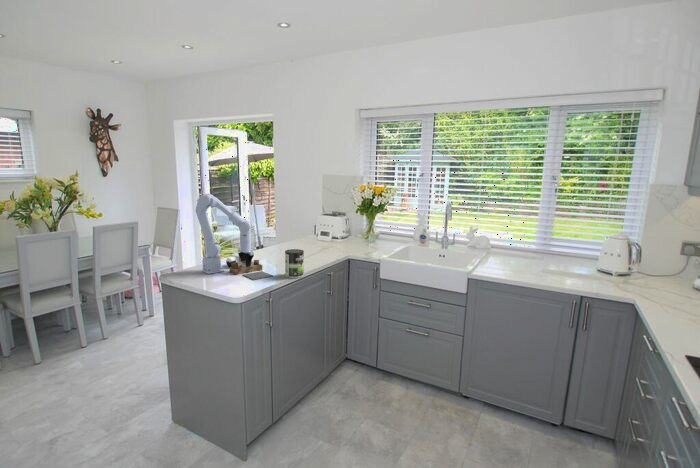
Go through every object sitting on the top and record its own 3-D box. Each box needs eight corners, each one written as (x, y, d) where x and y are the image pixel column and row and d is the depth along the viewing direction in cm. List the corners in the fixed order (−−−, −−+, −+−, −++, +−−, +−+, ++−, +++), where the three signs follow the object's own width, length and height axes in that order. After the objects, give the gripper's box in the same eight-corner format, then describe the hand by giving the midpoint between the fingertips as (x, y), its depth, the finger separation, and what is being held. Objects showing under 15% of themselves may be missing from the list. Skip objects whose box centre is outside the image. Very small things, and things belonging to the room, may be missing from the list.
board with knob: (235, 275, 206) (235, 264, 205) (229, 272, 211) (229, 262, 210) (262, 270, 217) (262, 260, 216) (256, 267, 222) (256, 257, 221)
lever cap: (242, 267, 209) (242, 262, 209) (238, 266, 213) (238, 261, 212) (253, 265, 214) (253, 260, 214) (249, 264, 217) (249, 259, 217)
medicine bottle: (249, 264, 228) (233, 269, 218) (241, 262, 232) (225, 268, 222) (247, 253, 226) (231, 258, 217) (240, 251, 230) (224, 256, 221)
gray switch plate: (253, 280, 196) (253, 279, 196) (242, 275, 205) (242, 274, 205) (273, 276, 205) (273, 275, 204) (261, 271, 213) (261, 271, 213)
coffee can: (307, 275, 209) (307, 250, 206) (295, 279, 200) (295, 253, 198) (293, 272, 214) (293, 248, 212) (281, 276, 205) (281, 251, 203)
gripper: (258, 243, 209) (258, 266, 211) (245, 239, 219) (246, 262, 221) (247, 244, 204) (247, 268, 206) (234, 241, 214) (235, 263, 216)
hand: (246, 265), depth 213 cm, fingers closed on lever cap, 4 cm apart
